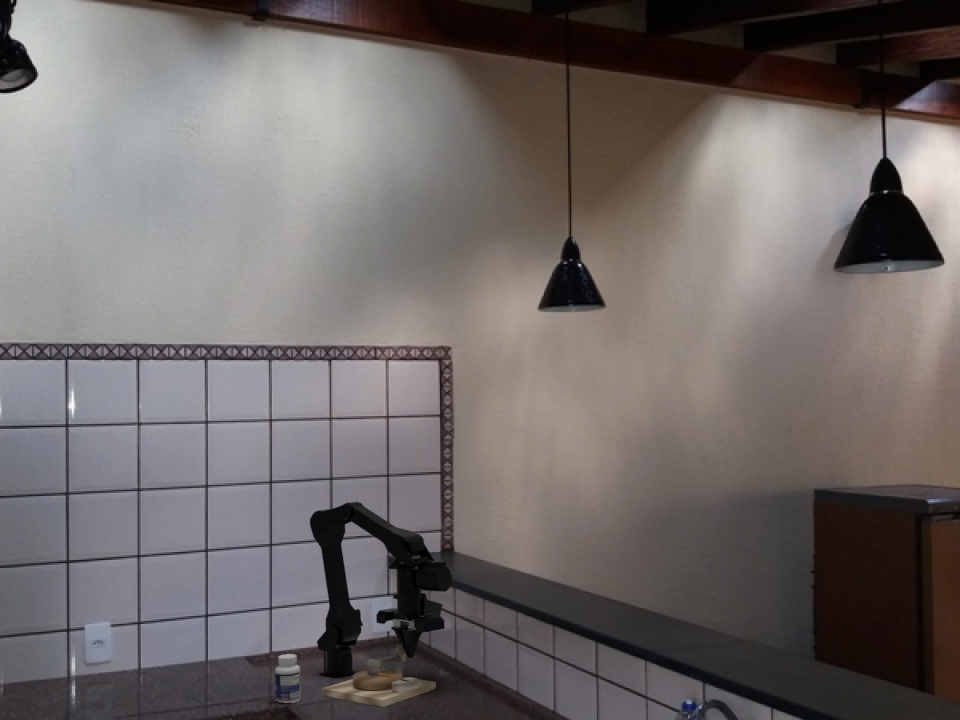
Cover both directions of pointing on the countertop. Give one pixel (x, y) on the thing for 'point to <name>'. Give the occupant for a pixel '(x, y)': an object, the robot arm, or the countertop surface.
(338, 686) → the stand
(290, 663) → the pill bottle
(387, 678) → the crank handle
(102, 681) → the countertop surface
